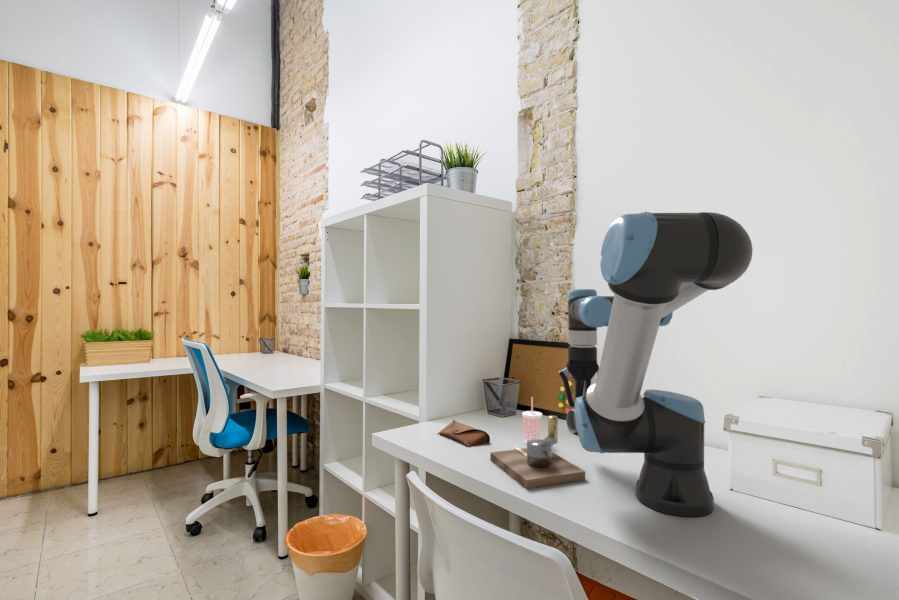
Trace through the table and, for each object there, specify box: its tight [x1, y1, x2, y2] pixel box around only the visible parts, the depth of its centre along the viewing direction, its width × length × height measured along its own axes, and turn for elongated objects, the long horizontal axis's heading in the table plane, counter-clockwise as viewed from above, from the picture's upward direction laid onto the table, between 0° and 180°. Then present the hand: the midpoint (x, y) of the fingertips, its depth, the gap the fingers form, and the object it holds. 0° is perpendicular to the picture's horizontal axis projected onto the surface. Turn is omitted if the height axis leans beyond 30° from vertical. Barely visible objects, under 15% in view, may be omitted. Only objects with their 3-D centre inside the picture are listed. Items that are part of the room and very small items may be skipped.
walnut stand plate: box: [489, 446, 586, 490], centre depth 116 cm, size 20×16×2 cm
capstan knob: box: [526, 415, 559, 467], centre depth 118 cm, size 15×6×9 cm, turn 149°
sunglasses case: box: [437, 419, 491, 448], centre depth 142 cm, size 18×7×7 cm, turn 38°
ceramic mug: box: [566, 408, 578, 434], centre depth 150 cm, size 11×8×8 cm
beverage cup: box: [521, 396, 543, 445], centre depth 137 cm, size 6×6×14 cm
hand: (582, 432), depth 123 cm, fingers closed
